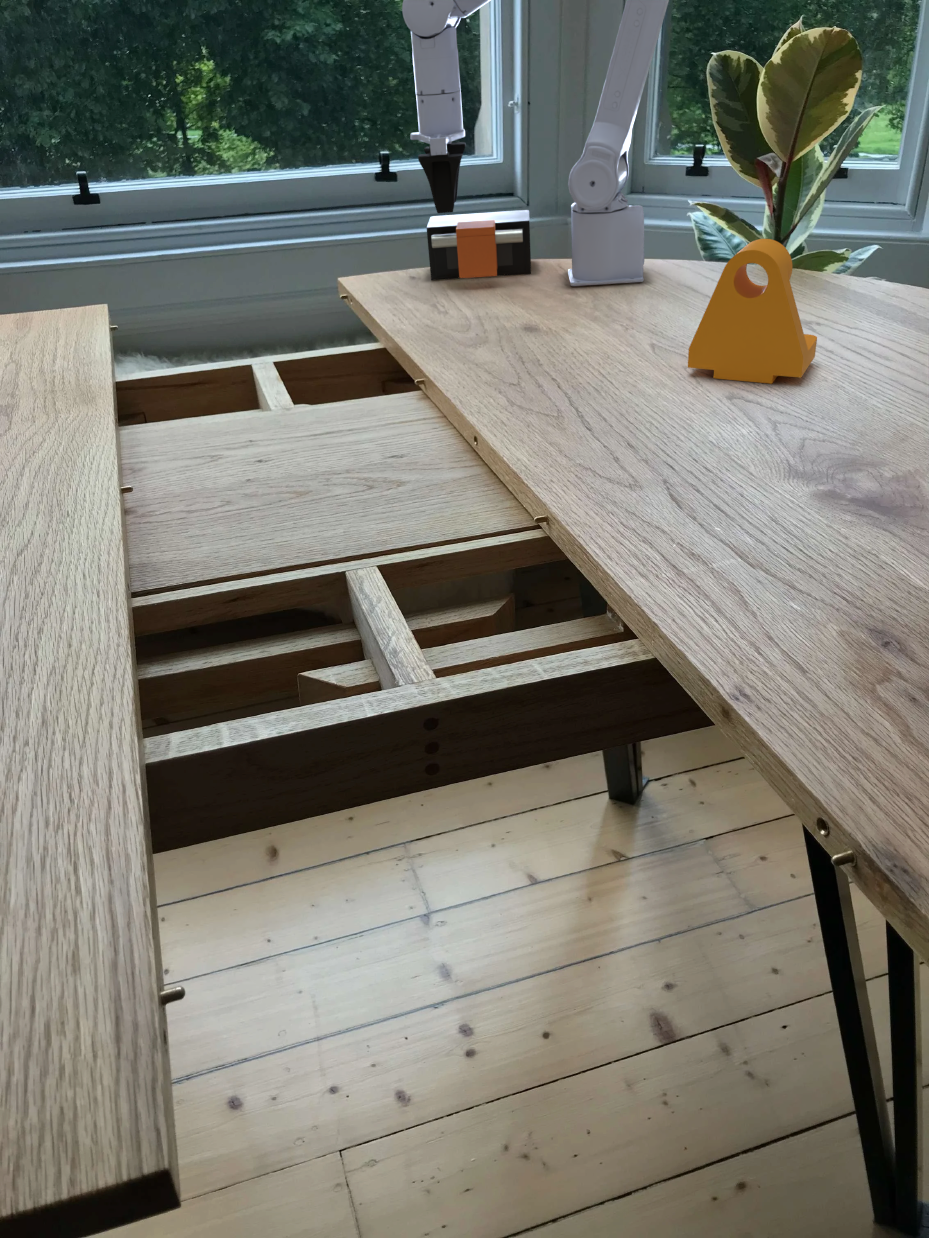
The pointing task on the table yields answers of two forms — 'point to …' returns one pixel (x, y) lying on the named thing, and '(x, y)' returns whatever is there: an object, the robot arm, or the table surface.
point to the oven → (508, 240)
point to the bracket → (753, 321)
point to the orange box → (476, 249)
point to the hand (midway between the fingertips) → (447, 207)
